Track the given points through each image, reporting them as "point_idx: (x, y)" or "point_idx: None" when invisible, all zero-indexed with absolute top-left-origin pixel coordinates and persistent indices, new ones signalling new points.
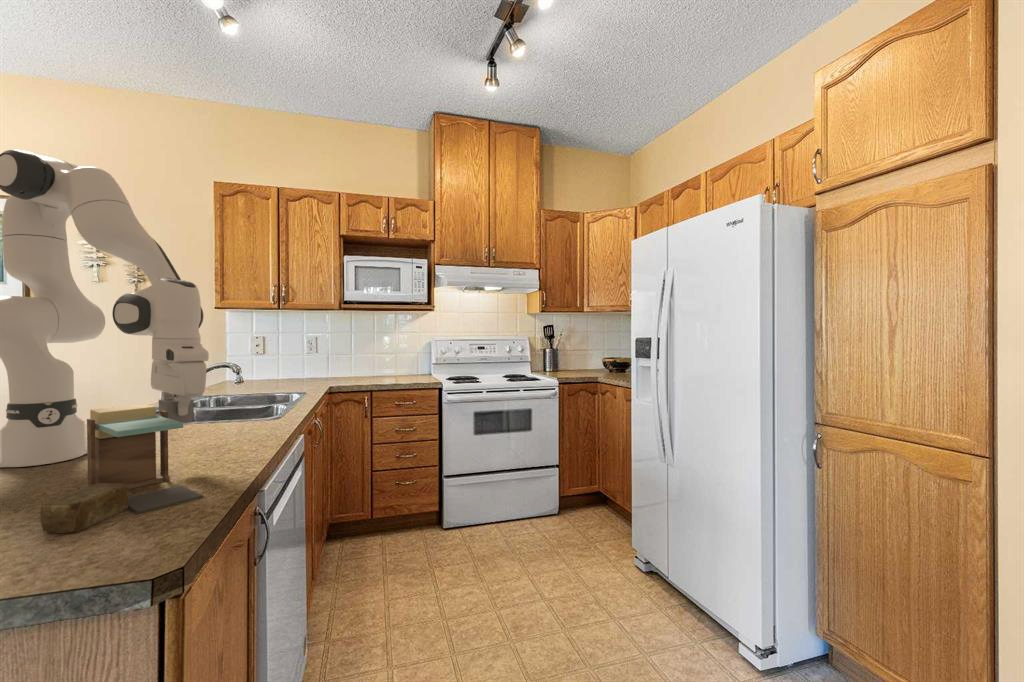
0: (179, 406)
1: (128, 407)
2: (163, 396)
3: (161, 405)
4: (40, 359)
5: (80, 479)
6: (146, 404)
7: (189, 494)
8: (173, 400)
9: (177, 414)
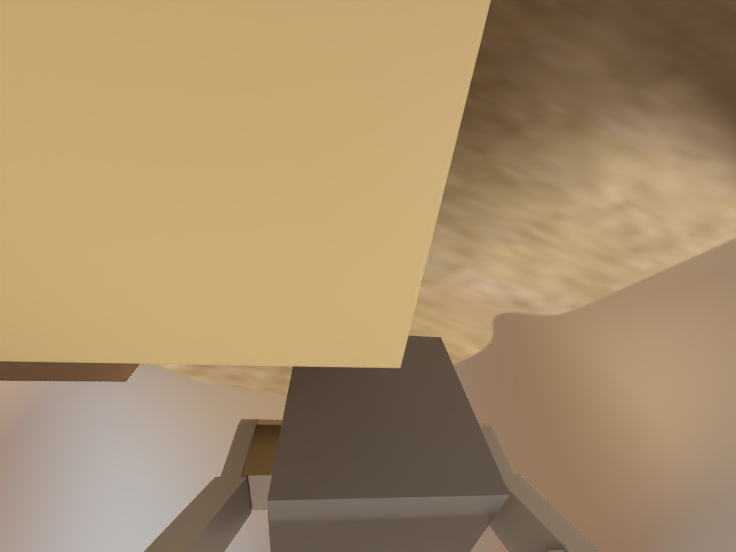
0: (203, 491)
1: (166, 37)
2: (563, 544)
3: (422, 443)
4: None
5: (535, 26)
6: (349, 363)
7: None
8: (347, 536)
9: (272, 420)
